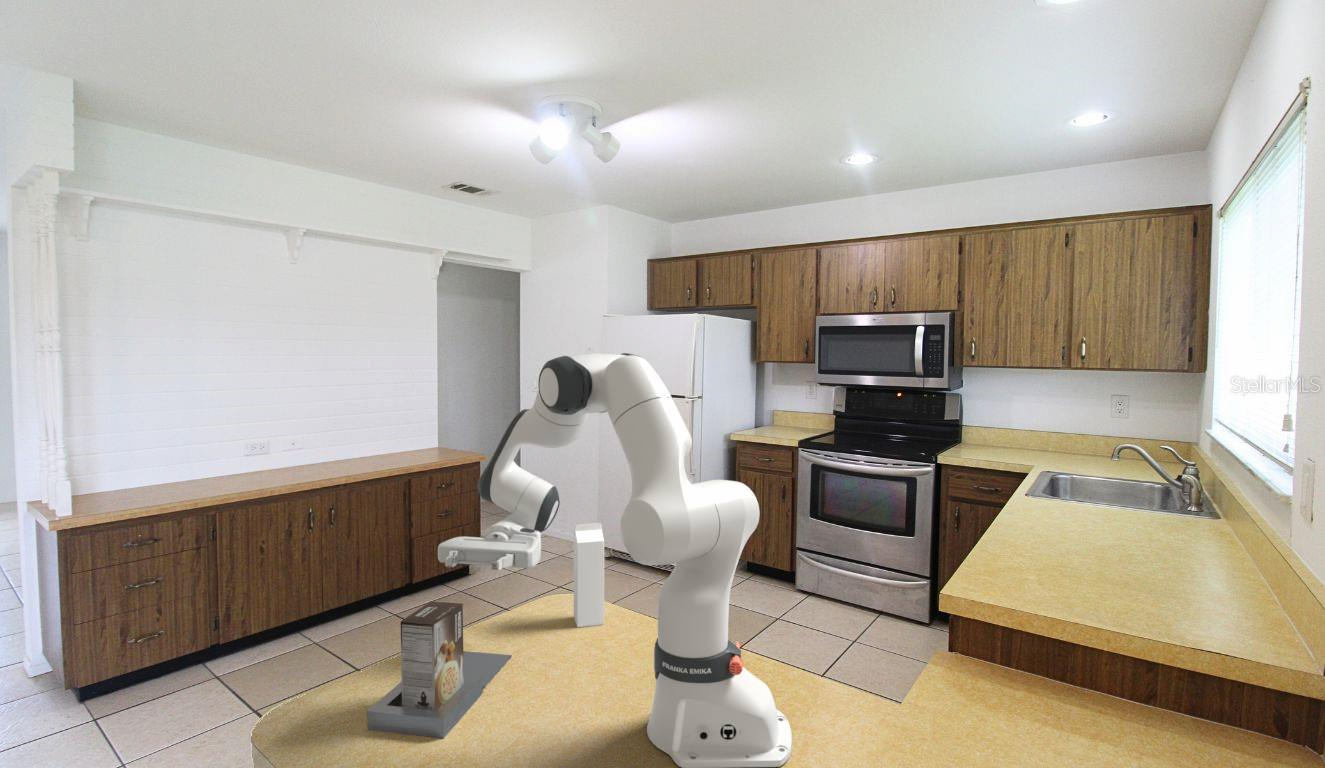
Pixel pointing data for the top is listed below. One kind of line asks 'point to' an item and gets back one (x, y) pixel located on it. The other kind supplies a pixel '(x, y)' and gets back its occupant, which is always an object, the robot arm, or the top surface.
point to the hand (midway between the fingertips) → (471, 564)
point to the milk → (588, 575)
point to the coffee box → (432, 655)
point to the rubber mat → (483, 665)
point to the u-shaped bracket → (423, 712)
